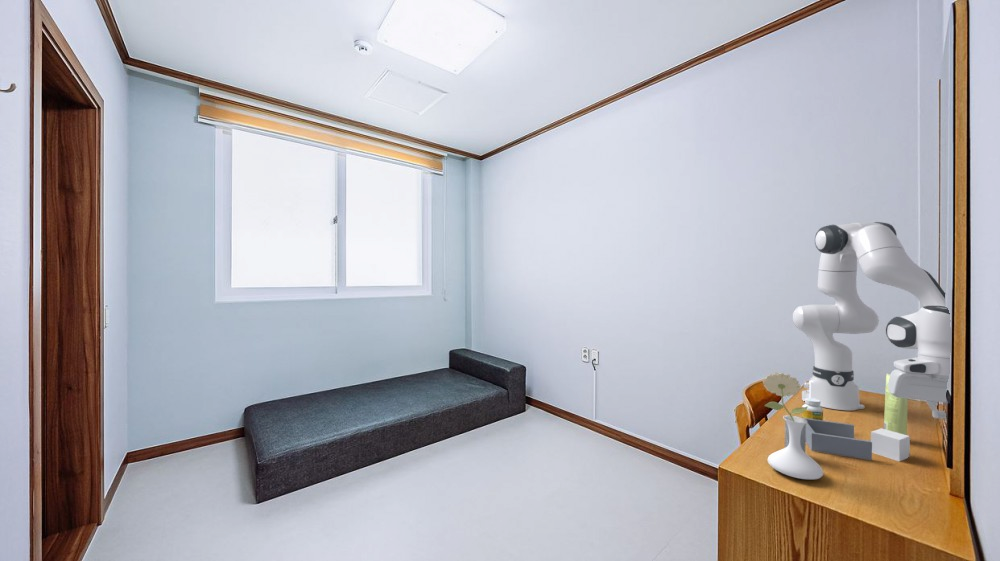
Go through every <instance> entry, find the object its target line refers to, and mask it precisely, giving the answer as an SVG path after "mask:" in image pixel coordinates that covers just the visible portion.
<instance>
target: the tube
mask: <svg viewBox="0 0 1000 561" xmlns="http://www.w3.org/2000/svg"><path fill="white" fill-rule="evenodd" d="M890 374H891V373H890ZM890 374H889V373H886V376H885V394H884V395H885V396H884V413H883V414H884V418H883V419H884V420H883V429H886V430H889V431H893V432H897V433H900V434H904V435H908V433H907V432H908V431H907V430H908V406H909V405H908V404H909V403H908V400H909V399H907V398H898V397H895V396H894V395H892V394H891V393H890V392H889V379H890Z"/></svg>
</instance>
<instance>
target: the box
mask: <svg viewBox="0 0 1000 561" xmlns="http://www.w3.org/2000/svg"><path fill="white" fill-rule="evenodd" d="M800 417H801V418H802V416H800ZM804 419H806V420H807V421H808V422H807V423H806V443H805V444H807V446H808V448H809V449H810V451H813V452H817V453H824V454H830V455H835V456H842V457H848V458H853V459H859V460H865V461H873V455H872V454H873V453H872V442H871V440H867V439H860V438H855V424H852V423H844V422H836V421H830V420H824V419H823V420H816V419H809V418H804Z"/></svg>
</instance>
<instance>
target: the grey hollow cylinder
mask: <svg viewBox="0 0 1000 561" xmlns="http://www.w3.org/2000/svg"><path fill="white" fill-rule="evenodd" d="M806 444H807V443H806V424H805V425H804V426H803V428H802V431H801V437H800V445H801V448H802V450H803V451H804V452H805V453H806ZM788 445H789V429H788V425H787V423H786V421H785V420H784V448H786V447H787V446H788Z"/></svg>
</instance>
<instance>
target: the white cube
mask: <svg viewBox="0 0 1000 561" xmlns="http://www.w3.org/2000/svg"><path fill="white" fill-rule="evenodd" d="M870 441H871V442H872V454H875V455H878V456H881V457H885V458H887V459H891V460H893V461H896V462H901V461H902V462H903V461H904V460H906V459H909V458H910V453H911V452H910V444H911V443H910V441H911V436H910V435H908V434H907V435H904V434H900V433H897V432H893V431H889V430H886V429H884V428H882V427H881V428H878V429H875V430H872V431H870ZM908 457H909V458H908Z"/></svg>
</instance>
